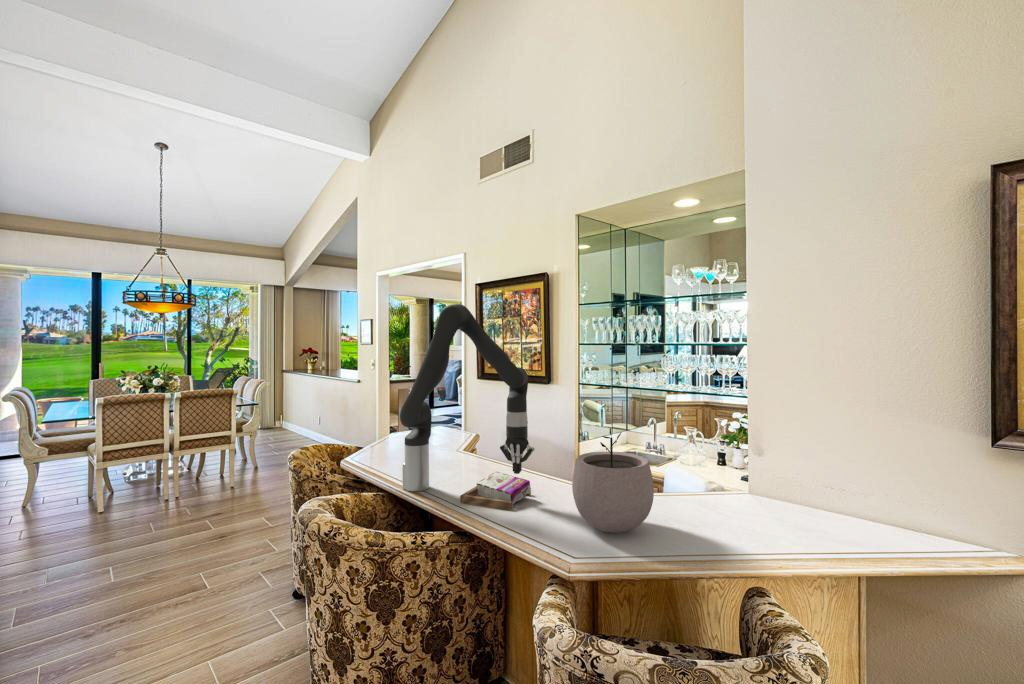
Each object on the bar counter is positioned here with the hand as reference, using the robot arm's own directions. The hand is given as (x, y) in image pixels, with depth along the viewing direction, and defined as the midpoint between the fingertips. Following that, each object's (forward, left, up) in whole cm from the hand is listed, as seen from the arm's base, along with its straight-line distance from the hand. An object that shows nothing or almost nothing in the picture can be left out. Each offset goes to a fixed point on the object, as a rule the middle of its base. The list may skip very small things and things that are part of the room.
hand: (517, 473), depth 166 cm
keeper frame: (-7, 0, -10) cm, 12 cm away
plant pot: (+36, -11, -10) cm, 39 cm away
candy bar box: (+2, -1, -7) cm, 7 cm away
